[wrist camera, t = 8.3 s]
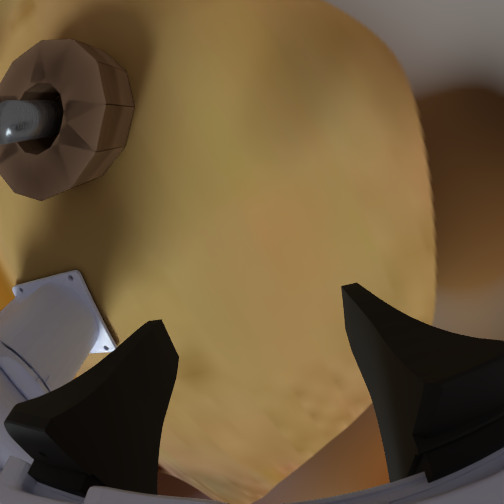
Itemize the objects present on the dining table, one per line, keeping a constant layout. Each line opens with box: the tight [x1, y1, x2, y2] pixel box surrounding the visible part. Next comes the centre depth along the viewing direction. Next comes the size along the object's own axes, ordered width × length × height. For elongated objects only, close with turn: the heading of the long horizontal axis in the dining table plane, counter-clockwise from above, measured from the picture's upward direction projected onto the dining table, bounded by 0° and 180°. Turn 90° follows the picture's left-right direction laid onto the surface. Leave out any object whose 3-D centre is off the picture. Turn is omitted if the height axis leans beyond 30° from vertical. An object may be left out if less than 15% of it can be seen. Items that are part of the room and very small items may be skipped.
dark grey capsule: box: [0, 100, 64, 145], centre depth 14 cm, size 2×2×7 cm
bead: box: [0, 39, 135, 201], centre depth 15 cm, size 10×10×4 cm
